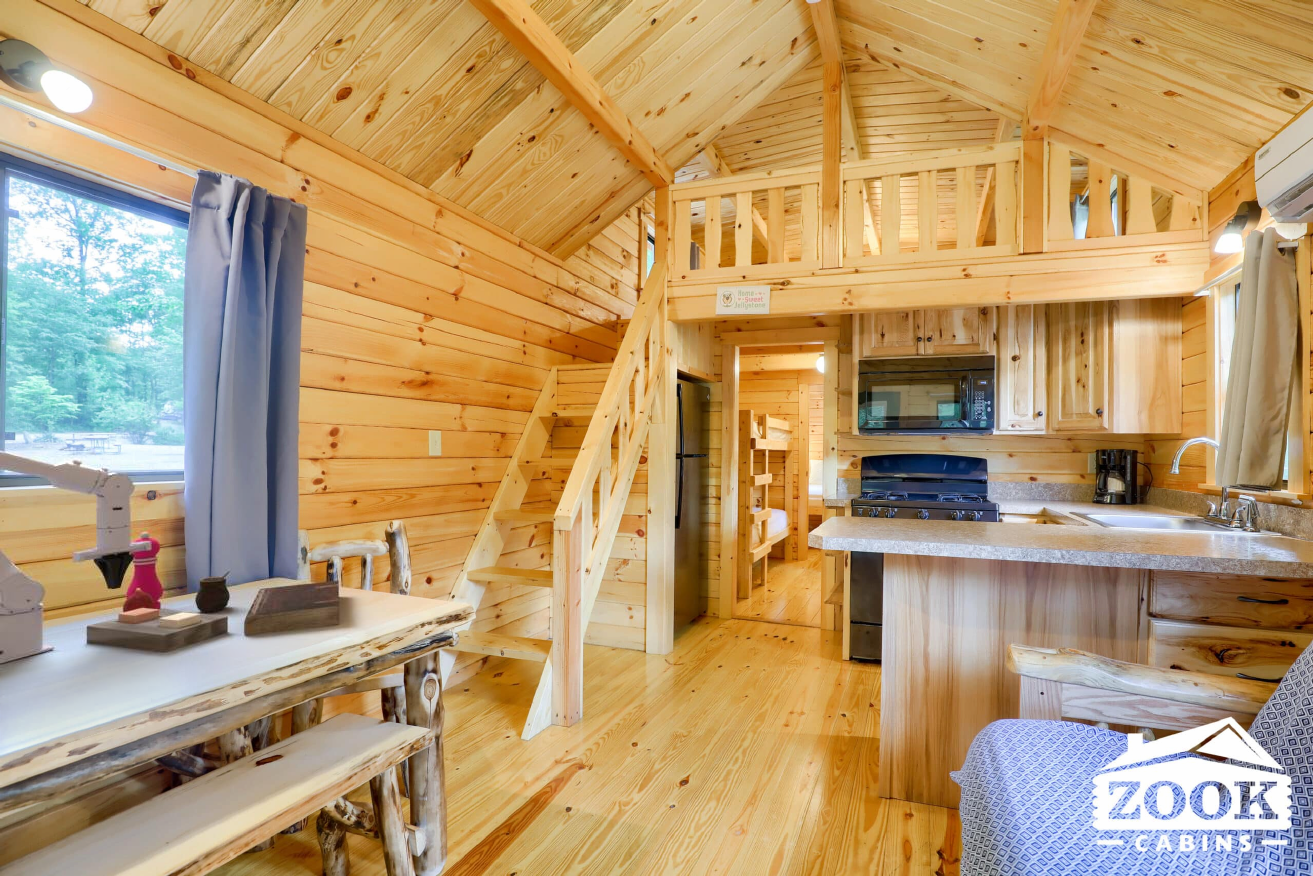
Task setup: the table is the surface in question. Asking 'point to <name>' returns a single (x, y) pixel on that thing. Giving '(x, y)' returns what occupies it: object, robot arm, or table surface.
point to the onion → (138, 601)
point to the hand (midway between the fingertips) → (114, 588)
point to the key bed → (156, 632)
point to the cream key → (179, 620)
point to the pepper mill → (146, 571)
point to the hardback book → (293, 608)
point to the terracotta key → (138, 615)
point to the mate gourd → (212, 594)
